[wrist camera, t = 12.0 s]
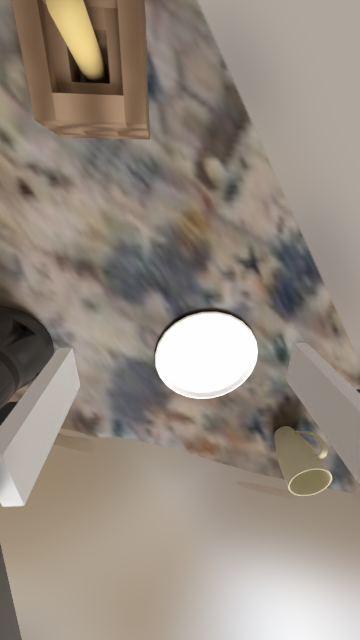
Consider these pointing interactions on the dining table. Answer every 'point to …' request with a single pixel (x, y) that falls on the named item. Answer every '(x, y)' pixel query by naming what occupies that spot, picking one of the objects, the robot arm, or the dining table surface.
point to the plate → (206, 355)
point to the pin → (79, 38)
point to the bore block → (68, 81)
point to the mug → (301, 462)
